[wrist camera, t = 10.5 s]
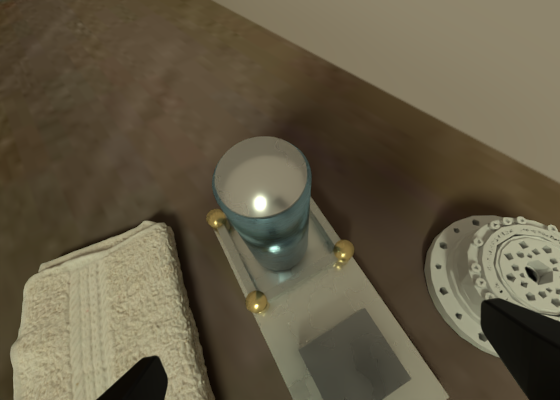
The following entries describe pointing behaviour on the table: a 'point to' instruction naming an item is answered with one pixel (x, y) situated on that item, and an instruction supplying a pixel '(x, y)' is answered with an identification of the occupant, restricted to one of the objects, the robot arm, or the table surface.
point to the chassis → (327, 321)
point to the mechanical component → (493, 270)
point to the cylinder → (266, 198)
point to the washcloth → (108, 320)
